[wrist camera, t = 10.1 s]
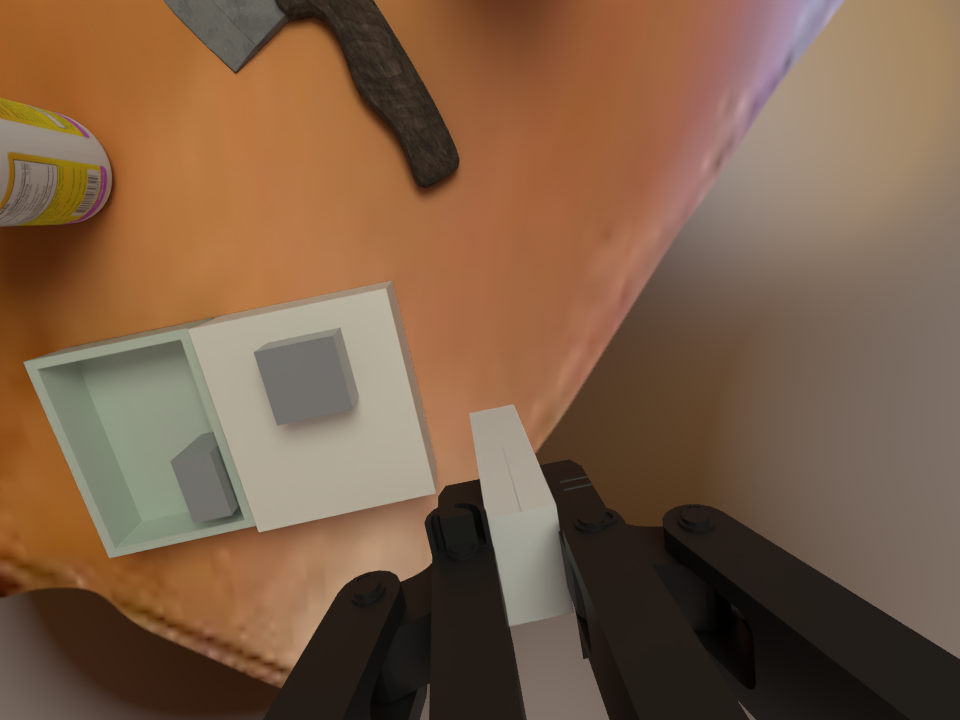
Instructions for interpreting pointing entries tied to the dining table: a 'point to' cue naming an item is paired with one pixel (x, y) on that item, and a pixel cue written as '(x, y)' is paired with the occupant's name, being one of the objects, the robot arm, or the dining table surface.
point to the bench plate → (330, 438)
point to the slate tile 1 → (205, 480)
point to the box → (134, 433)
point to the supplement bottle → (49, 168)
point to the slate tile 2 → (307, 376)
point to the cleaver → (369, 53)
